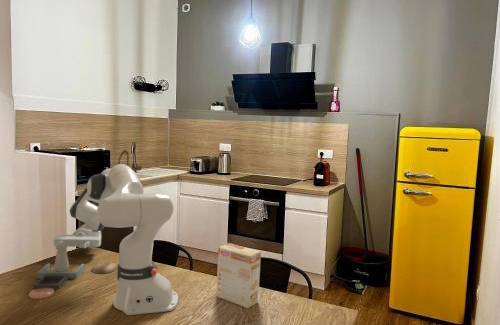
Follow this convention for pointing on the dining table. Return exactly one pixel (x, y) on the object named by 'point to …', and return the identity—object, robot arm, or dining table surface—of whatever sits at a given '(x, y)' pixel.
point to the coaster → (41, 293)
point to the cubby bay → (70, 274)
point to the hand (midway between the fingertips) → (72, 246)
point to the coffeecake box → (238, 274)
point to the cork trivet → (105, 268)
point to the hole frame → (51, 281)
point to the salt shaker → (61, 258)
